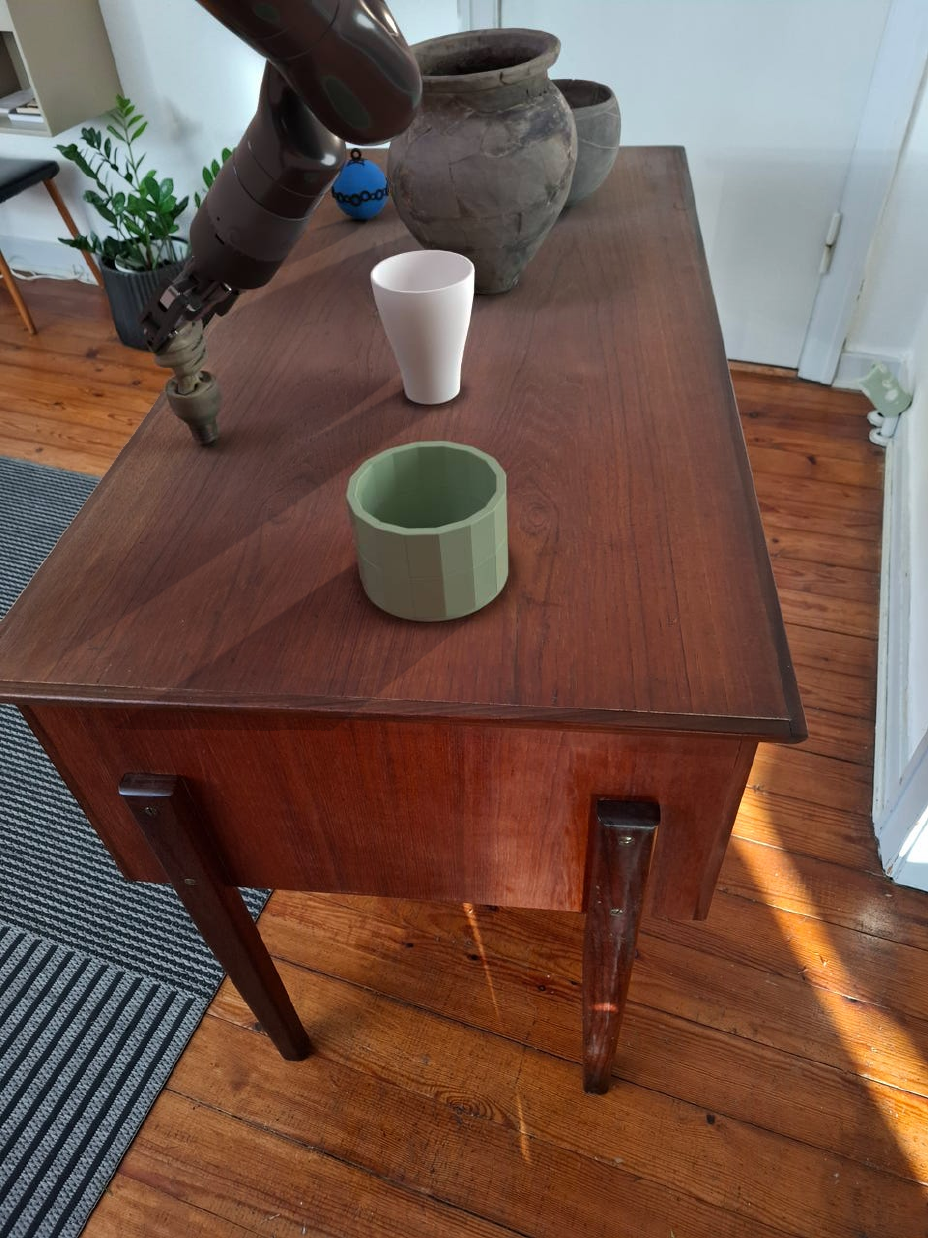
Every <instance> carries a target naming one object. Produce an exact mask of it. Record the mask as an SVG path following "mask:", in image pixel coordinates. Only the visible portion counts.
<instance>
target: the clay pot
mask: <svg viewBox="0 0 928 1238" xmlns="http://www.w3.org/2000/svg"><path fill="white" fill-rule="evenodd" d="M409 47H410V49H411V51H412V53H413V55H414V57H415V59H416V61H417V63H418V65H419V68H420V71H421V75H422V82H423V93H422V100H421V105H420V108H419V111H418V113H417V115H416V117H415V119H414V120H413V122H412V123H411V125H410V126H409V127H408V129H407V130H406V131H405V132H404V133H403V134H401V135H400V136H399V137H397V138H396V139H394V140H392V141H390V142H389V147H388V150H387V158H386V159H387V160H386V178H387V181H388V185H389V194H390V196H391V199H392V202H393V205H394V209H395V210H396V213H397V214H398V217H399V218H400V220H401V222H402V223H403V224H404V226H405V227H406V229H407V230H408V232H409V233H410V234H411V236H412V237H413V238H414V239H415V240H416V241H417V243H418V244H419V245H420V246H421V247H422V248H423V249H424V250H439V251H447V252H452V253H456V254H459V255H462V256H464V257H466V258H468V259H469V260H470V261H471V262H472V264H473V266H474V294H477V295H489V296H490V295H491V296H492V295H496V294H503V293H506V292H508V291H511V290H512V289H513V288H515V287H516V286H517V284H518V282H519V280H520V277H521V275H522V274H523V272H524V270H525V268H526V267H527V265H528V264H529V263H531V261H532V260H533V258H534V256H535V255H536V253H537V252H538V250H539V249H540V247H541V246H542V244H543V242H544V241H545V239H546V238H547V236H548V234H549V233H550V232H551V230H552V228H553V226H554V224H556V221H557V219H558V217H559V215H560V214H561V211H562V210H563V206H564V204H565V202H566V199H567V197H568V194H569V191H570V187H571V182H572V177H573V172H574V169H575V166H576V161H577V153H578V140H577V131H576V125H575V121H574V117H573V114H572V111H571V109H570V107H569V105H568V103H567V101H566V100H565V98H564V96H563V94H562V93H561V92H560V90H559V89H558V88H557V87H556V86H555V85H554V83H553V82H552V81H551V80H552V79H550V77H549V72H548V70H549V69H550V68H551V67H553V66H554V65H555V64H556V62H557V61H558V58H559V55H560V53H561V50H562V42H561V40H560V38H559V37H558V36H557V35H555V34H553V33H550V32H548V31H545V30H540V29H531V28H525V27H506V28H505V27H504V28H503V27H500V28H496V27H495V28H481V29H474V30H472V29H471V30H465V31H460V32H455V33H447V34H446V35H441V36H440V35H439V36H436V37H432V38H428V39H425V40H422V41H418V42H416V43H414V44H411V45H409Z"/></svg>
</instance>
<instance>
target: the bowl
mask: <svg viewBox="0 0 928 1238" xmlns="http://www.w3.org/2000/svg"><path fill="white" fill-rule="evenodd" d="M550 80H551V81H552V82H553V83H554V85H555V86H556V87H557V88H558V89H559V90H560V92H561V93H562V94H563V96H564V98H565V100H566V101H567V103H568V105H569V107H570V109H571V111H572V114H573V117H574V121H575V125H576V131H577V140H578V153H577V161H576V166H575V169H574V172H573V177H572V182H571V187H570V191H569V194H568V197H567V199H566V202H565V204H564V206H563V208H568V207H570V206H573V205H575V204H577V203H579V202H581V201H583V200H585V199H587V198H588V197H589V196H590V195H591V194H593V193H594V192H595V191H596V190H597V189H598V188H600V186H601V185H602V183H604V181H605V180H606V178H607V177H608V175H610V172H611V170H612V168H613V166H614V164H615V162H616V159H617V156H618V153H619V150H620V149H619V148H620V144H621V136H622V135H621V134H622V116H621V110H620V105H619V101H618V99H617V96H616V94H615V92H614V91H613V89H612V88H611V87H609V86H608V85H607V84H603V83H599V82H597V81H595V80H589V79H588V80H587V79H577V78H575V79H573V78H553V79H550ZM563 208H562V209H563Z"/></svg>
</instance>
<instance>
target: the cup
mask: <svg viewBox="0 0 928 1238" xmlns="http://www.w3.org/2000/svg"><path fill="white" fill-rule="evenodd" d="M370 282H371V286H372V291H373V297H374V301H375V304H376V308H377V312H378V315H379V317H380V321H381V323H382V326H383V330H384V332H385V334H386V337H387V339H388V341H389V344H390V347H391V349H392V352H393V354H394V357H395V359H396V363H397V365H398V369H399V371H400V374H401V380H402V384H403V388H404V393H405V396H406V398H407V399H409V400H411V402H414V403H416V404H421V405H439V404H443V403H446V402H448V401H451V400H452V399H454V398H456V396H458V395H459V393H460V390H461V372H462V371H461V368H462V362H463V356H464V350H465V345H466V341H467V335H468V331H469V326H470V323H471V315H472V308H473V302H474V301H473V300H474V294H475V293H474V266H473V264H472V262H471V261H470V260H469V259H468V258H466V257H464V256H462V255H459V254H456V253H452V252H447V251H439V250H425V249H424V250H413V251H407V252H403V253H399V254H396V255H392V256H390V257H388V258H385V259H383V260H382V261H380V262H378V263H377V264H376V265H374V267H373V269H372V270H371V271H370Z"/></svg>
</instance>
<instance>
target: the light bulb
mask: <svg viewBox="0 0 928 1238" xmlns="http://www.w3.org/2000/svg"><path fill="white" fill-rule="evenodd" d="M181 316H182V315H181ZM181 316H180V318H181ZM180 318H179V319H180ZM146 331H147V330H146V329H145V328H144V330H143V335H144V334H145V332H146ZM206 343H207V336H206V333H205V332H204V323H203V320H202V318H201V319H200V320H199V321H197V322H188V323H187V324H186V325H185V326H184V327H183V328H182V329H181V331H180V332H179V334H178V335H177V336H176V337H175V339H174V341H173V342H172V344H171V345H170V347H169V349H168V350H167V352H166V353H164V354H163V355H161V356H158V355H156V354H154V353H153V352H152V350H151V349H150V348H149V347H148V349H149V351H150V352H151V353H152V354H154V356H153V361H154V363H155V364H156V365H157V366H158V367H160V368H165V369H168V368H169V369H172V370H173V373H174V376H173V377H171V378H170V379H168V381H167V382H166V383H165V385H164V391H165V395H166V399H167V402H168V404H169V407H170V409H171V411H172V413H173V414H174V415H175V416H176V417H177V418H178V419H179V420H181V421H182V422H183V423H184V424H186V425H187V427H188V428H189V430H190V433H191V437H192V439H193V440H194V441H195V442H196V443H197V444H199V445H204V444H205V445H207V446H211V447H213V446H215V445H216V444H217V441H218V438H219V437H220V435H221V430H220V429H219V426H218V423H217V416H218V415H219V412H220V410H221V408H222V404H223V398H222V397H223V396H222V393H221V388H220V384H219V380H218V378H217V376H216V375H215V374H214V373H212V372H210V371H207V370H202V368H203V367H204V366H205V365H206V363H207V361H208V359H209V347H208V346H207V344H206Z"/></svg>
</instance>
